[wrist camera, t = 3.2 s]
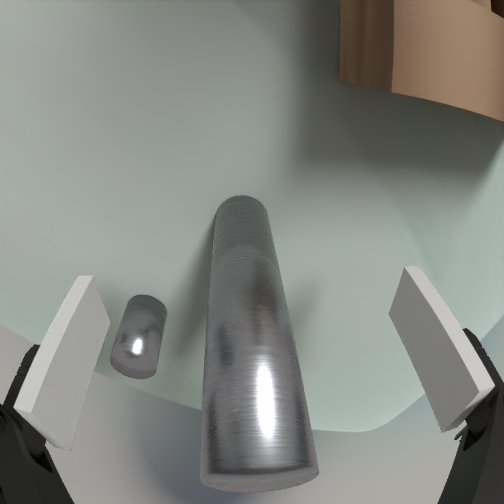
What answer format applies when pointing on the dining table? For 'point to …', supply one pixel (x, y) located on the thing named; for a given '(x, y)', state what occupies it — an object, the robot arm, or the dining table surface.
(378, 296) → the dining table surface
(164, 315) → the short pin
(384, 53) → the socket block
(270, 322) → the long pin
